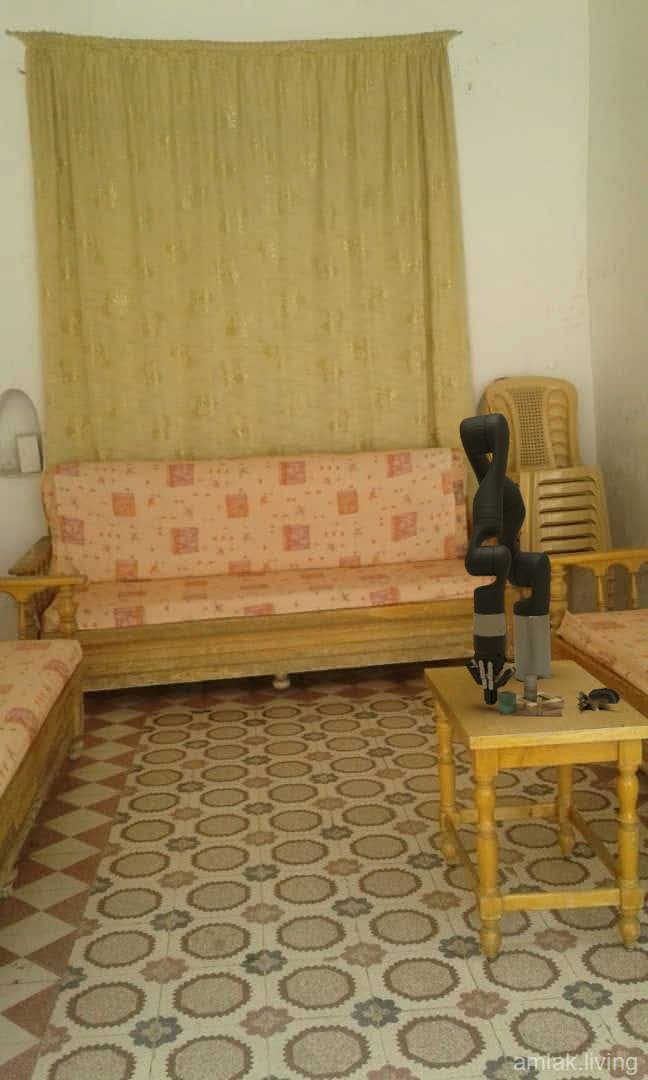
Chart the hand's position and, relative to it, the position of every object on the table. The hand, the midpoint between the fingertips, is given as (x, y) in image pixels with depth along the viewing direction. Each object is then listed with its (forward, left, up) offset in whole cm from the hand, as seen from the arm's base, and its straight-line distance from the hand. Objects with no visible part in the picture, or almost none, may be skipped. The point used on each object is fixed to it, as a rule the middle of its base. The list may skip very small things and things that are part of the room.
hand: (491, 703), depth 245 cm
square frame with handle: (-1, +8, -1) cm, 8 cm away
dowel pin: (+5, +11, -1) cm, 12 cm away
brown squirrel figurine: (-1, +24, -3) cm, 24 cm away
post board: (-3, +9, -2) cm, 10 cm away
